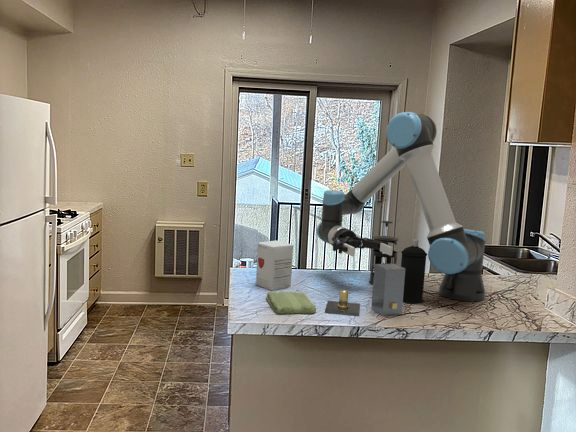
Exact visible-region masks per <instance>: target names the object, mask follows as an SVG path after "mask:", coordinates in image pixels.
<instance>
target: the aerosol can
mask: <svg viewBox="0 0 576 432" xmlns="http://www.w3.org/2000/svg"><path fill="white" fill-rule="evenodd" d="M400 253H401V261H400V266H401V267H403V268H405V280H404V293H403V303H405V304H412V305H413V304H414V305H417V304H418V305H419V304H422V303H423V302H424V299H423V297H424V286H425V275H426V264H427V263H426V262H427V257H428V253H427V252H426V251H425V249H424V248H423V247H422V248H421V247H420V246H419V240H418V239H412V241H411V245H410V246H407V247H405V248H404V249H403V250H401V251H400Z"/></svg>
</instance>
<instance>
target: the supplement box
mask: <svg viewBox="0 0 576 432" xmlns="http://www.w3.org/2000/svg"><path fill="white" fill-rule="evenodd" d="M256 253H257V255H256V271H255V272H256V274H255V275H256V276H255V285H256V286H259V287H260V288H261V287H262V288H264V289H267V290H270V291H272V292H274V291H277V290H283V289H287V288H291V287H292V271H293V258H294V244H292V243H288V242H283V241H280V240H269V241H260V242H257V252H256Z"/></svg>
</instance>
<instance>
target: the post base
mask: <svg viewBox="0 0 576 432" xmlns="http://www.w3.org/2000/svg"><path fill="white" fill-rule="evenodd" d="M326 302H327V303H326V305H325V309H324V313H325V314H335V315H343V316H345V315H346V316H353V317H354V316H355V317H359V316H360V309H361V303H355V302H349V290H347V289H340V290H339V299H338V300H337V301H336V300H335V301H334V300H327V301H326Z"/></svg>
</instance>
